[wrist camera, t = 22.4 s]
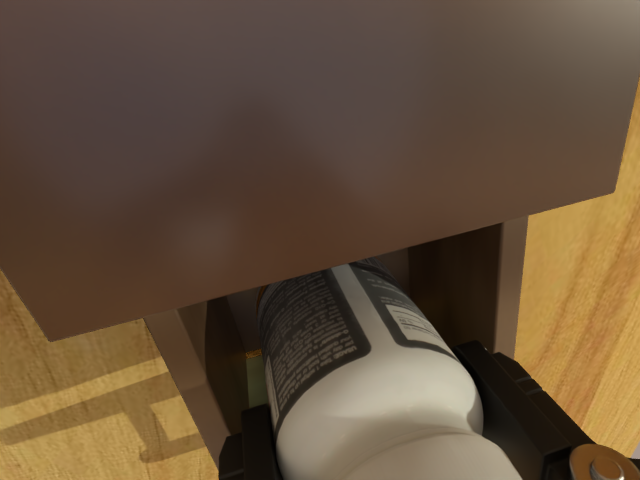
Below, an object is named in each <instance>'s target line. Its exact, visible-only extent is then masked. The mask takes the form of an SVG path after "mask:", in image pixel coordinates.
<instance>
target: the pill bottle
mask: <svg viewBox="0 0 640 480" xmlns="http://www.w3.org/2000/svg"><path fill="white" fill-rule="evenodd" d="M256 316H257V324H258V331H259V336H260V343H261V350H262V359H263V364H264V372H265V381H266V387H267V394H268V401H269V409H270V417H271V424H272V431H273V438H274V444H275V451H276V459H277V463H278V466H279V470H280V472H281V475H282V477H283V480H523V479H522V478H521V476H520V475H519V473H518V472H517V470H516V469H515V467H514V466H513V464H512V463H511V461H510V460H509V458H508V457H507V455H506V454H505V452H504V451H503V450H502V449H501V448H500V447H499V446H498V445H496V444H495V443H493V442H491V441H490V440H488V439H485V438H484V437H482V431H483V407H482V402H481V398H480V395H479V393H478V390H477V387H476V386H475V383H474V381H473V379H472V378H471V376H470V375H469V373H468V372H467V370H466V369H465V368H464V366H463V365H462V364H461V363H460V362H459V360H458V359H457V358H456V356H455V355H454V354H453V352H452V351H451V350H450V349H449V347H448V346H447V345H446V343H445V342H444V341H443V339H442V338H441V337H440V335H439V334H438V333H437V331H436V330H435V329H434V327H433V326H432V324H431V323H430V322H429V321H428V320H427V319H426V317H425V316H424V315H423V313H422V312H421V311H420V310H419V308H418V307H417V306H416V305H415V303H414V302H413V301H412V300H411V298H410V297H409V296H408V295H407V293H406V292H405V291H404V289H403V288H402V287H401V286H400V284H399V283H398V282H397V280H396V279H395V278H394V277H393V275H392V274H391V272H390V271H389V270H388V269H387V267H386V266H385V265H384V264H383V263H382V262H381V260H380V259H379V258H378V257H377V256H374V257H370V258H366V259H363V260H359V261H355V262H351V263H348V264H344V265H340V266H336V267H333V268H329V269H325V270H321V271H317V272H314V273H310V274H306V275H302V276H299V277H295V278H291V279H287V280H284V281H280V282H276V283H272V284H268V285H265V286H261V287H259V288H258V291H257V297H256Z"/></svg>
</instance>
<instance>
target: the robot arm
mask: <svg viewBox="0 0 640 480" xmlns="http://www.w3.org/2000/svg"><path fill="white" fill-rule="evenodd" d="M451 351H452V352H453V354H454V355H455V356H456V358H457V359H458V360H459V362H460V363H461V364H462V365H463V366H464V368H465V369H466V370H467V372H468V373H469V375H470V376H471V378H472V379H473V381H474V383H475V386H476V387H477V390H478V393H479V395H480V398H481V402H482V407H483V431H482V437H484V438H485V439H488V440H490V441H491V442H493V443H495V444H496V445H498V446H499V447H500V448H501V449H502V450H503V451H504V452H505V454H506V455H507V457H508V458H509V460H510V461H511V463H512V464H513V466H514V467H515V469H516V470H517V472H518V473H519V475H520V476H521V478H522V479H523V480H640V459H632V458H627V457H625V456H624V455H622V454H621V453H619V452H617V451H615V450H613V449H611V448H609V447H606V446H603V445H598V444H596V443H595V442H594V441H593V440H591V439H590V438H589V437H588V436H587V435H586V434H585V433H584V432H583V431H582V430H581V429H580V427H579V426H578V425H577V424H576V423H575V422H574V421H573V420H572V419H571V418H570V417H569V416H568V415H567V414H566V413H565V412H564V411H563V410H562V409H561V407H560V406H559V405H558V404H557V403H556V402H555V401H554V400H553V399H552V398H551V397H550V396H549V395H548V394H547V393H546V392H545V391H543V390H542V388H541V386H540V385H539V384H538V383H537V382H536V381H535V380H534V379H532V378H531V376H530V375H529V374H528V373H527V372H526V371H525V370H524V369H523V368H522V366H521V365H520V364H519V363H518V362H516V361H515V360H513V359H511V358H509V357H508V356H506V355H504V354H502V353H501V352H497V353H494V354H490V352H489V351H488V350H487V349H486V348H485V347H484V346H483V345H482V343H481V342H479V341H478V340H472V341H469V342H466V343H462V344H459V345H456V346H453V347H452V348H451ZM241 427H242V432H240V433H237V434H234V435H231V436H227V437H226V439H225V442H224V445H223V447H222V450H221V452H220V455H219V480H283V477H282V475H281V472H280V470H279V466H278V463H277V459H276V451H275V444H274V438H273V431H272V424H271V417H270V410H269V407H268V404H267V403H265V404H262V405H258V406H255V407H252V408H249V409H245V410H242V411H241Z"/></svg>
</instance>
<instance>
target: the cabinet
mask: <svg viewBox="0 0 640 480" xmlns="http://www.w3.org/2000/svg"><path fill="white" fill-rule="evenodd" d="M639 77H640V0H0V269H1V270H2V272H3V273H4V275H5V276H6V278H7V279H8V281H9V282H10V284H11V285H12V287H13V288H14V290H15V291H16V293H17V294H18V296H19V297H20V299H21V300H22V302H23V303H24V305H25V306H26V308H27V309H28V311H29V312H30V314H31V315H32V317H33V318H34V320H35V321H36V322H37V324H38V325H39V327H40V328H41V330H42V331H43V333H44V334H45V336H46V337H47V339H48V340H49V341H50V342H54V341H57V340H61V339H65V338H69V337H73V336H76V335H80V334H84V333H88V332H91V331H95V330H99V329H103V328H106V327H110V326H114V325H118V324H122V323H125V322H129V321H133V320H137V319H140V318H144V317H148V316H152V315H155V314H159V313H163V312H167V311H170V310H174V309H178V308H182V307H186V306H189V305H193V304H197V303H201V302H204V301H208V300H212V299H216V298H219V297H223V296H227V295H231V294H235V293H238V292H242V291H246V290H250V289H253V288H257V287H261V286H265V285H268V284H272V283H276V282H280V281H284V280H287V279H291V278H295V277H299V276H302V275H306V274H310V273H314V272H317V271H321V270H325V269H329V268H333V267H336V266H340V265H344V264H348V263H351V262H355V261H359V260H363V259H366V258H370V257H374V256H378V255H381V254H385V253H389V252H393V251H397V250H400V249H404V248H408V247H412V246H415V245H419V244H423V243H427V242H430V241H434V240H438V239H442V238H446V237H449V236H453V235H457V234H461V233H464V232H468V231H472V230H476V229H479V228H483V227H487V226H491V225H495V224H498V223H502V222H506V221H510V220H513V219H517V218H521V217H525V216H528V215H532V214H536V213H540V212H543V211H547V210H551V209H555V208H559V207H562V206H566V205H570V204H574V203H577V202H581V201H585V200H589V199H592V198H596V197H600V196H604V195H608V194H611V193H614V191H615V189H616V184H617V179H618V175H619V170H620V165H621V161H622V156H623V151H624V147H625V142H626V137H627V133H628V128H629V123H630V119H631V114H632V109H633V105H634V100H635V95H636V91H637V86H638V81H639Z"/></svg>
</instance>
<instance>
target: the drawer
mask: <svg viewBox="0 0 640 480" xmlns="http://www.w3.org/2000/svg"><path fill="white" fill-rule="evenodd" d="M528 216H529V215H528ZM528 216H525V217H521V218H517V219H513V220H510V221H506V222H502V223H498V224H495V225H491V226H487V227H483V228H479V229H476V230H472V231H468V232H464V233H461V234H457V235H453V236H449V237H446V238H442V239H438V240H434V241H430V242H427V243H423V244H419V245H415V246H412V247H408V248H404V249H400V250H397V251H393V252H389V253H385V254H381V255H378V256H377V257H378V258H379V259H380V260H381V262H382V263H383V264H384V265H385V266H386V267H387V269H388V270H389V271H390V272H391V274H392V275H393V277H394V278H395V279H396V280H397V282H398V283H399V284H400V286H401V287H402V288H403V289H404V291H405V292H406V293H407V295H408V296H409V297H410V298H411V300H412V301H413V302H414V303H415V305H416V306H417V307H418V308H419V310H420V311H421V312H422V313H423V315H424V316H425V317H426V319H427V320H428V321H429V322H430V323H431V324H432V326H433V327H434V329H435V330H436V331H437V333H438V334H439V335H440V337H441V338H442V339H443V341H444V342H445V343H446V345H447V346H448V347H449V349H450V350H451V348H452V347H453V346H456V345H459V344H462V343H466V342H469V341H472V340H478V341H479V342H481V343H482V345H483V346H484V347H485V348H486V349H487V350H488V351H489V352H490V354H494V353H497V352H501V353H502V354H504V355H506V356H508V357H509V358H511V359H513V360H514V353H515V343H516V333H517V323H518V314H519V304H520V294H521V285H522V275H523V265H524V255H525V246H526V236H527V226H528ZM258 288H259V287H257V288H253V289H250V290H246V291H242V292H238V293H235V294H231V295H227V296H223V297H219V298H216V299H212V300H208V301H204V302H201V303H197V304H193V305H189V306H186V307H182V308H178V309H174V310H170V311H167V312H163V313H159V314H155V315H152V316H148V317H144V318H143V319H144V321H145V323H146V325H147V327H148V329H149V331H150V333H151V335H152V337H153V339H154V341H155V343H156V345H157V347H158V349H159V351H160V353H161V355H162V357H163V359H164V361H165V363H166V366H167V368H168V370H169V372H170V374H171V376H172V378H173V380H174V382H175V384H176V386H177V388H178V390H179V392H180V394H181V396H182V398H183V400H184V402H185V404H186V406H187V408H188V410H189V412H190V414H191V416H192V418H193V420H194V422H195V424H196V426H197V428H198V430H199V432H200V434H201V436H202V438H203V440H204V442H205V444H206V446H207V448H208V450H209V452H210V454H211V456H212V458H213V460H214V462H215V464H216V467H217V469H218V471H219V455H220V452H221V450H222V447H223V445H224V442H225V439H226V437H227V436H231V435H234V434H237V433H240V432H242V427H241V411H242V410H245V409H249V408H252V407H255V406H258V405H262V404H265V403H267V404H268V407H269V401H268V394H267V387H266V381H265V372H264V364H263V359H262V355H260V356H256V357H253V358H249V359H246V353H247V352H250V351H254V350H257V349H261V343H260V336H259V331H258V324H257V316H256V297H257V291H258ZM269 410H270V409H269Z"/></svg>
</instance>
